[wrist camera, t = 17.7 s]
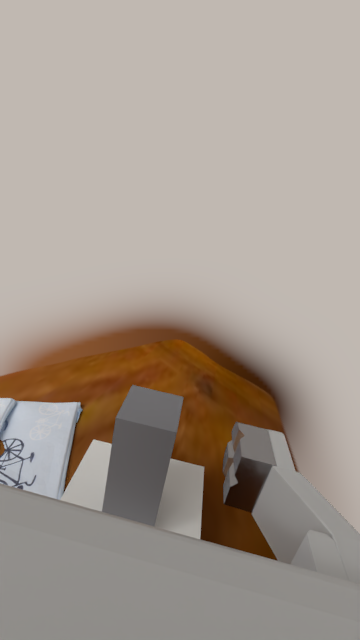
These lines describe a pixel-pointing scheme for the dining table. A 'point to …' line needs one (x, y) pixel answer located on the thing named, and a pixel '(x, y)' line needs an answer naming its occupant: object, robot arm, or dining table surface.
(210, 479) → the dining table surface
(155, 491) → the tall block
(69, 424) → the folded bicycle print cloth
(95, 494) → the white block
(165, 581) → the robot arm
